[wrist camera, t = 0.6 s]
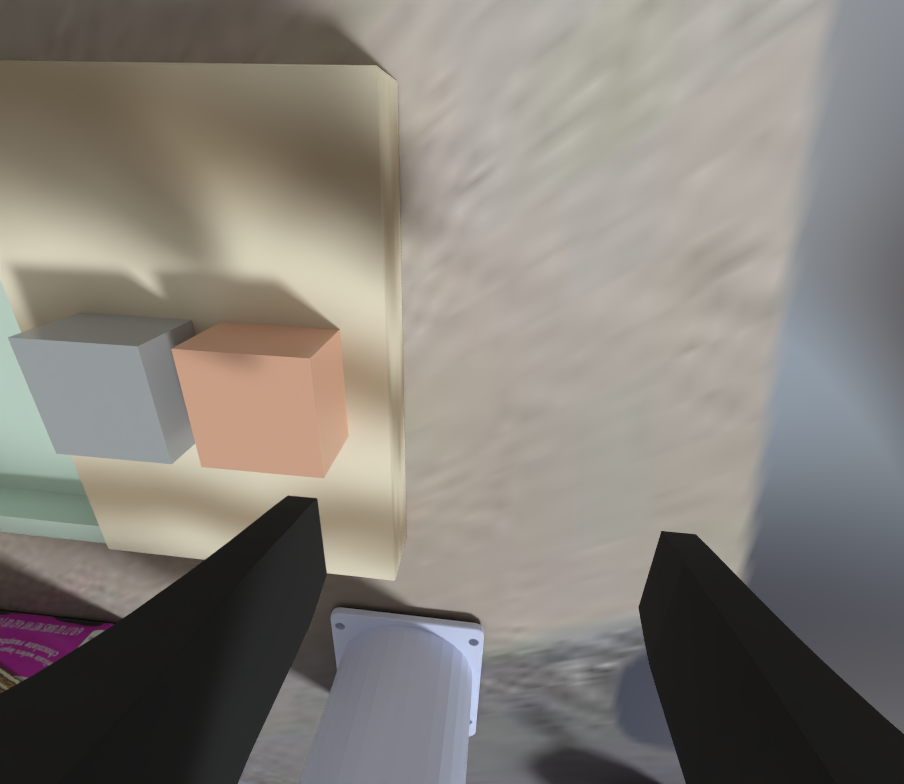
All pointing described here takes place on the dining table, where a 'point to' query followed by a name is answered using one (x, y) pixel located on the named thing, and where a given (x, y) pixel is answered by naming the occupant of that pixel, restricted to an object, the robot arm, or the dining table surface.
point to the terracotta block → (265, 397)
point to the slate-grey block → (109, 385)
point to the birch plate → (219, 263)
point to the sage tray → (34, 460)
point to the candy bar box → (38, 643)
